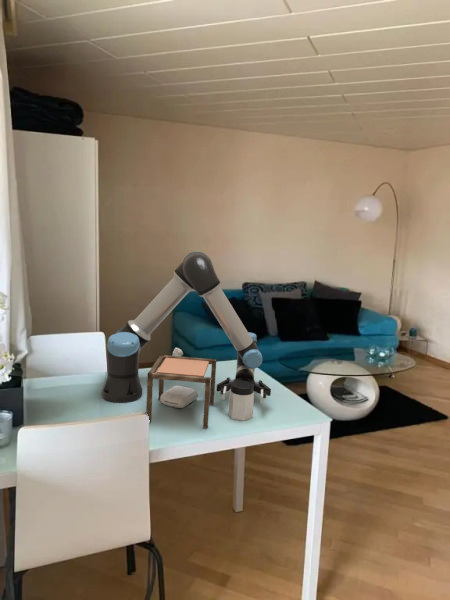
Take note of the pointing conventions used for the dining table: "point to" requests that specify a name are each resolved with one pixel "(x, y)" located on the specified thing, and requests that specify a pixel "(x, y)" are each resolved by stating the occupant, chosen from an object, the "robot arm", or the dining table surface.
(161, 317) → the robot arm
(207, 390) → the trapdoor frame
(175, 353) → the sitting furry creature
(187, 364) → the trapdoor
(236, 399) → the jar
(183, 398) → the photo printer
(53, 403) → the dining table surface
